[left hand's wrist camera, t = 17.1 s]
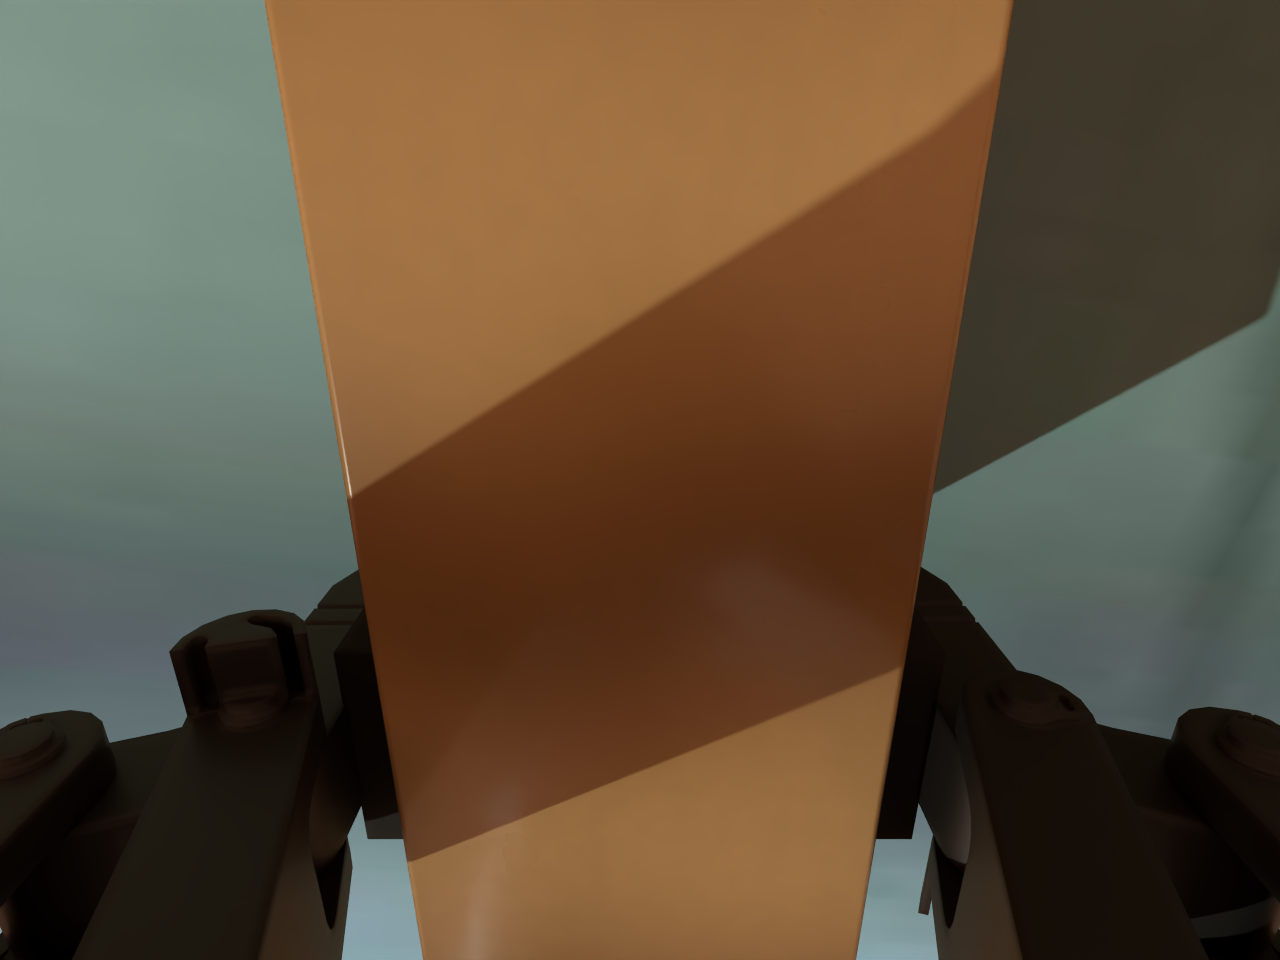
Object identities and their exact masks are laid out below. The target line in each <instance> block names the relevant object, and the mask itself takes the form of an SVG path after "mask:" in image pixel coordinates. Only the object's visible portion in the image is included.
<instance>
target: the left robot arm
mask: <svg viewBox="0 0 1280 960" xmlns="http://www.w3.org/2000/svg"><path fill="white" fill-rule="evenodd" d="M169 653H170V656H171V660H172V663H173V667H174V670H175V674H176V677H177V681H178V684H179V688H180V691H181V695H182V698H183V702H184V706H185V709H186V713H187V718H186V720H185V722H184V724H183V726H182V727H181V728H177V729H173V730H169V731H165V732H160V733H155V734H151V735H146V736H141V737H136V738H131V739H126V740H121V741H117V742H112V743H109V740H108V737H107V734H106V732H105V729H104V726H103V723H102V721H101V720H100V719H98V718H97V717H96V716H94V715H93V714H92V713H88V712H81V711H73V710H68V711H60V712H52V713H45V714H40V715H35V716H31V717H30V718H28V719H26V718H24V719H21V720H19V721H16V722H13V723H10V724H8V725H7V726H6V727H4V728H2V729H0V928H1V930H2V933H1V934H0V960H342V951H343V943H344V934H345V926H346V918H347V909H348V901H349V893H350V884H351V876H352V860H351V853H350V847H349V842H348V837H347V835H348V833H349V831H350V829H351V827H352V825H353V822H354V820H355V818H356V816H357V814H358V812H359V809H360V807H361V805H362V811H363V816H364V821H365V827H366V832H367V838H368V839H403V834H402V828H401V822H400V816H399V810H398V804H397V797H396V791H395V785H394V779H393V773H392V767H391V761H390V755H389V749H388V743H387V737H386V731H385V725H384V719H383V713H382V707H381V701H380V695H379V689H378V683H377V677H376V671H375V665H374V659H373V653H372V647H371V641H370V634H369V628H368V622H367V616H366V610H365V604H364V598H363V592H362V586H361V580H360V574H359V570H357V571H355V572H354V573H352V574H351V575H349V576H347V577H346V578H344V579H343V580H341V581H340V582H338V583H336V584H335V585H333V586H332V587H331V589H330V590H329V591H328V592H327V594H326V595H325V596H324V597H323V599H322V600H321V601H320V602H319V604H318V608H317V609H314V610H313V611H312V613H311V614H310V615H309V616H308V618H307V619H306V620H305V621H303V620H302V619H301V618H300V617H298V616H297V615H296V614H294V613H291V612H286V611H281V610H276V609H273V610H252V611H247V612H242V613H237V614H233V615H228V616H225V617H223V618H220V619H217V620H215V621H212V622H210V623H207V624H204V625H202V626H200V627H199V628H197V629H196V630H194V631H192V632H191V633H189V634H187V635H186V636H184V637H182V638H181V639H180V641H179V642H178V643H177V644H176V645H175V646H174V647H173V648H172V649H171V650H170V651H169ZM918 802H919V805H920V807H921V809H922V811H923V813H924V815H925V818H926V820H927V822H928V824H929V826H930V828H931V831H932V833H933V837H932V842H931V847H930V852H929V857H928V862H927V867H926V872H925V877H924V882H923V887H922V892H921V898H920V905H919V912H918V913H921V914H926V915H928V914H929V909H930V904H931V899H932V907H933V916H934V924H935V933H936V941H937V949H938V958H939V960H1280V930H1279V929H1278V928H1279V926H1280V725H1278V724H1276V723H1274V722H1273V721H1271V720H1269V719H1266V718H1263V717H1261V716H1258V715H1251V713H1247V712H1243V711H1238V710H1231V709H1223V708H1215V707H1204V708H1197V709H1189V710H1188V711H1187V712H1186V713H1184V714H1183V715H1182V716H1180V717H1179V718H1178V721H1177V724H1176V727H1175V730H1174V732H1173V735H1172V738H1171V740H1170V739H1165V738H1160V737H1155V736H1150V735H1145V734H1140V733H1135V732H1130V731H1126V730H1121V729H1116V728H1111V727H1107V726H1104V725H1100V724H1097V723H1096V721H1095V719H1094V717H1093V715H1092V713H1091V712H1090V711H1089V710H1088V708H1087V707H1086V706H1085V704H1084V703H1083V702H1082V701H1081V699H1079V698H1078V697H1076V696H1075V695H1074V694H1072V693H1071V692H1069V691H1068V690H1067V689H1065V688H1064V687H1062V686H1061V685H1058V684H1056V683H1054V682H1052V681H1049V680H1047V679H1045V678H1043V677H1040V676H1038V675H1034V674H1030V673H1026V672H1022V671H1018V670H1016V669H1015V668H1014V666H1013V665H1012V664H1011V663H1010V661H1009V660H1008V659H1007V658H1006V656H1005V655H1004V654H1003V653H1002V651H1001V650H1000V649H999V648H998V646H997V645H996V644H995V643H994V641H993V640H992V639H991V638H990V636H989V635H988V634H987V633H986V631H985V630H984V629H983V628H982V626H981V625H980V624H979V623H978V622H975V618H974V616H973V615H972V614H971V613H970V611H969V610H968V609H967V608H966V606H962V601H961V600H960V599H959V598H958V596H957V595H956V594H955V593H954V591H953V590H952V589H951V588H950V586H949V585H948V584H947V583H946V582H944V581H943V580H941V579H939V578H938V577H936V576H935V575H933V574H931V573H930V572H928V571H927V570H925V569H923V568H922V567H921V568H920V574H919V580H918V587H917V593H916V599H915V605H914V611H913V617H912V623H911V629H910V635H909V641H908V647H907V653H906V659H905V665H904V671H903V677H902V683H901V689H900V696H899V702H898V708H897V714H896V720H895V726H894V732H893V738H892V744H891V750H890V756H889V762H888V768H887V774H886V780H885V786H884V792H883V799H882V805H881V811H880V817H879V823H878V829H877V835H876V839H912V835H913V829H914V824H915V819H916V813H917V808H918Z"/></svg>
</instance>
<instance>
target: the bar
mask: <svg viewBox="0 0 1280 960" xmlns="http://www.w3.org/2000/svg"><path fill="white" fill-rule="evenodd" d="M1013 5H1014V0H265V7H266V13H267V19H268V25H269V31H270V37H271V43H272V49H273V55H274V61H275V67H276V73H277V79H278V85H279V91H280V97H281V103H282V109H283V115H284V121H285V127H286V133H287V139H288V145H289V151H290V157H291V164H292V170H293V176H294V182H295V188H296V194H297V200H298V206H299V212H300V218H301V224H302V230H303V236H304V242H305V248H306V254H307V260H308V266H309V272H310V278H311V284H312V290H313V296H314V302H315V308H316V314H317V320H318V327H319V333H320V339H321V345H322V351H323V357H324V363H325V369H326V375H327V381H328V387H329V393H330V399H331V405H332V411H333V417H334V423H335V429H336V435H337V441H338V447H339V453H340V459H341V465H342V471H343V477H344V484H345V490H346V496H347V502H348V508H349V514H350V520H351V526H352V532H353V538H354V544H355V550H356V556H357V562H358V568H359V574H360V580H361V586H362V592H363V598H364V604H365V610H366V616H367V622H368V628H369V634H370V641H371V647H372V653H373V659H374V665H375V671H376V677H377V683H378V689H379V695H380V701H381V707H382V713H383V719H384V725H385V731H386V737H387V743H388V749H389V755H390V761H391V767H392V773H393V779H394V785H395V791H396V797H397V804H398V810H399V816H400V822H401V828H402V834H403V840H404V846H405V852H406V858H407V864H408V870H409V876H410V882H411V888H412V894H413V900H414V906H415V912H416V918H417V924H418V930H419V936H420V942H421V948H422V954H423V960H856V956H857V950H858V944H859V938H860V932H861V926H862V920H863V914H864V908H865V902H866V895H867V889H868V883H869V877H870V871H871V865H872V859H873V853H874V847H875V841H876V835H877V829H878V823H879V817H880V811H881V805H882V799H883V792H884V786H885V780H886V774H887V768H888V762H889V756H890V750H891V744H892V738H893V732H894V726H895V720H896V714H897V708H898V702H899V696H900V689H901V683H902V677H903V671H904V665H905V659H906V653H907V647H908V641H909V635H910V629H911V623H912V617H913V611H914V605H915V599H916V593H917V587H918V580H919V574H920V568H921V562H922V556H923V550H924V544H925V538H926V532H927V526H928V520H929V514H930V508H931V502H932V496H933V490H934V484H935V477H936V471H937V465H938V459H939V453H940V447H941V441H942V435H943V429H944V423H945V417H946V411H947V405H948V399H949V393H950V387H951V381H952V374H953V368H954V362H955V356H956V350H957V344H958V338H959V332H960V326H961V320H962V314H963V308H964V302H965V296H966V290H967V284H968V278H969V271H970V265H971V259H972V253H973V247H974V241H975V235H976V229H977V223H978V217H979V211H980V205H981V199H982V193H983V187H984V181H985V175H986V169H987V162H988V156H989V150H990V144H991V138H992V132H993V126H994V120H995V114H996V108H997V102H998V96H999V90H1000V84H1001V78H1002V72H1003V66H1004V59H1005V53H1006V47H1007V41H1008V35H1009V29H1010V23H1011V17H1012V11H1013Z"/></svg>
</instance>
